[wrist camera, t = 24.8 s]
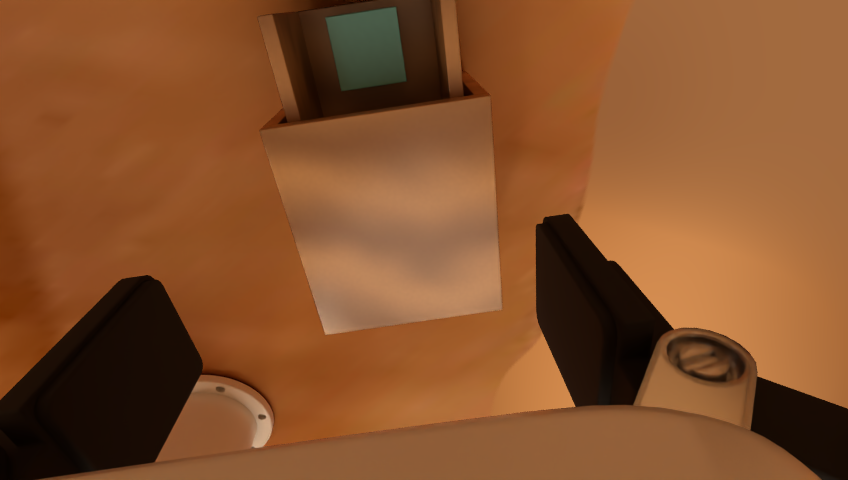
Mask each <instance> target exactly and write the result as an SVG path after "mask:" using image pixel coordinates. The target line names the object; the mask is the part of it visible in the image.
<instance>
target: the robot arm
mask: <svg viewBox="0 0 848 480" xmlns="http://www.w3.org/2000/svg"><path fill="white" fill-rule="evenodd" d="M536 312H537V319H538V323H539V325H540V328H541V330H542V332H543V335H544V337H545V339H546V341H547V344H548V346H549V348H550V350H551V352H552V355H553V357H554V359H555V361H556V364H557V366H558V368H559V370H560V373H561V375H562V377H563V379H564V382H565V384H566V386H567V388H568V390H569V392H570V395H571V397H572V400H573V402H574V404H575V406H576V407H572V408H561V409H550V410H539V411H529V412H520V413H514V414H506V415H498V416H490V417H482V418H473V419H465V420H458V421H450V422H443V423H435V424H428V425H421V426H413V427H406V428H398V429H391V430H383V431H376V432H368V433H361V434H353V435H346V436H339V437H331V438H324V439H317V440H310V441H302V442H295V443H288V444H281V445H274V446H266V447H263V446H264V445H265V444H266V442H267V441H268V439H269V438H270V435H271V432H272V429H273V424H274V416H273V412H272V410H271V407H270V406H269V404H268V403H267V401H266V400H265V399H264V398H263V397H262V396H261V395H260V394H259V393H258V392H257V391H255V390H254V389H252V388H251V387H249V386H247V385H245V384H243V383H241V382H239V381H236V380H233V379H230V378H226V377H221V376H215V375H201V373H202V369H203V363H202V359H201V357H200V355H199V353H198V351H197V349H196V347H195V345H194V343H193V342H192V340H191V338H190V336H189V334H188V332H187V330H186V328H185V326H184V324H183V323H182V321H181V319H180V317H179V315H178V313H177V311H176V309H175V307H174V305H173V304H172V302H171V300H170V298H169V296H168V294H167V292H166V290H165V288H164V286H163V285H162V283H161V282H160V281H158V280H155V279H154V278H152V277H151V276H148V275H145V276H138V277H131V278H125V279H121V280H120V281H119V282H118V283H117V284H116V285H115V286H114V287H113V288H112V289H111V290H110V291H109V292H108V293H107V294H106V295H105V296H104V297H103V298H102V299H101V300H100V301H99V302H98V303H97V304H96V305H95V306H94V307H93V308H92V309H91V310H90V311H89V312H88V313H87V314H86V315H85V316H84V317H83V318H82V319H81V320H80V321H79V322H78V323H77V324H76V325H75V326H74V327H73V328H72V329H71V330H70V331H69V332H68V333H67V334H66V335H65V336H64V337H63V338H62V339H61V340H60V341H59V342H58V343H57V344H56V345H55V346H54V347H53V348H52V349H51V350H50V351H49V352H48V353H47V354H46V355H45V356H44V357H43V358H42V359H41V360H40V361H39V362H38V363H37V364H36V365H35V366H34V367H33V368H32V369H31V370H30V371H29V372H28V373H27V374H26V375H25V376H24V377H23V378H22V379H21V380H20V381H19V382H18V383H17V384H16V385H15V386H14V387H13V388H12V389H11V390H10V391H9V392H8V393H7V394H6V395H5V396H4V397H3V398H2V399H1V400H0V480H848V409H847V408H844V407H841V406H839V405H836V404H833V403H830V402H827V401H825V400H822V399H819V398H816V397H813V396H811V395H808V394H805V393H802V392H799V391H797V390H794V389H791V388H788V387H785V386H783V385H780V384H777V383H774V382H771V381H769V380H766V379H763V378H760V377H757V366H756V362H755V361H754V359H753V357H752V356H751V354H750V353H749V352H748V351H747V350H746V349H745V348H743V347H742V346H741V345H740V344H739V343H737V342H735V341H734V340H732V339H730V338H728V337H726V336H724V335H721V334H719V333H716V332H713V331H710V330H704V329H699V328H679V329H675V330H674V329H673V328H672V327H671V325H670V324H669V323H668V322H667V321H666V320H665V319H664V317H663V316H662V315H661V314H660V312H659V311H658V310H657V309H656V308H655V307H654V305H653V304H652V303H651V302H650V301H649V300H648V299H647V297H646V296H645V295H644V294H643V293H642V292H641V290H640V289H639V288H638V287H637V286H636V285H635V283H634V282H633V281H632V280H631V279H630V277H629V276H628V275H627V274H626V273H625V272H624V270H623V269H622V268H621V267H620V266H619V265H618V264H617V263H616V262H615V261H607V259H606V258H605V257H604V256H603V255H602V253H601V252H600V251H599V250H598V248H597V247H596V246H595V245H594V244H593V243H592V241H591V240H590V239H589V238H588V236H587V235H586V234H585V233H584V231H583V230H582V229H581V228H580V227H579V225H578V224H577V223H576V222H575V221H574V219H573V218H572V217H571V216H570V215H569V214H563V215H556V216H549V217H545V218H544V220H543V223H542V224H537V225H536Z"/></svg>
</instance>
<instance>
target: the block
mask: <svg viewBox="0 0 848 480" xmlns="http://www.w3.org/2000/svg"><path fill="white" fill-rule="evenodd" d="M325 19H326V24H327V29H328V33H329V38H330V42H331V47H332V51H333V56H334V61H335V65H336V70H337V74H338V79H339V83H340V88H341V91H348V90H355V89H361V88H368V87H374V86H381V85H388V84H394V83H401V82H407V78H406V71H405V64H404V57H403V51H402V44H401V37H400V30H399V23H398V16H397V9H396V6H393V7H387V8H380V9H374V10H367V11H360V12H354V13H347V14H341V15H334V16H329V17H325Z"/></svg>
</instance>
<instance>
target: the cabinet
mask: <svg viewBox="0 0 848 480" xmlns="http://www.w3.org/2000/svg"><path fill="white" fill-rule="evenodd" d="M462 79H463V91H464V97H457V98H450V99H444V100H437V101H430V102H424V103H417V104H410V105H404V106H397V107H390V108H384V109H377V110H370V111H364V112H357V113H350V114H344V115H337V116H330V117H324V118H317V119H310V120H304V121H297V122H291V123H287V119H286V116H285V112H284V109H282V110H280V111H279V112H278V113H277V114H276V115H275V116H274V117H273V118H272V119H271V120H270V121H269V122H268V123H266V124H265V125H264V126H263V127H262V128H261V129H260V130H259V132H260V135H261V138H262V141H263V144H264V147H265V150H266V153H267V156H268V159H269V163H270V166H271V169H272V172H273V175H274V178H275V181H276V184H277V187H278V190H279V193H280V197H281V200H282V203H283V206H284V209H285V212H286V215H287V218H288V221H289V224H290V228H291V231H292V234H293V237H294V240H295V243H296V246H297V249H298V252H299V255H300V258H301V262H302V265H303V268H304V271H305V274H306V277H307V280H308V283H309V286H310V289H311V293H312V296H313V299H314V302H315V305H316V308H317V311H318V314H319V317H320V320H321V323H322V327H323V330H324V333H325V335H330V334H337V333H344V332H351V331H358V330H365V329H372V328H379V327H386V326H393V325H400V324H407V323H414V322H421V321H428V320H435V319H442V318H449V317H456V316H462V315H469V314H476V313H483V312H490V311H497V310H502V309H503V305H502V287H501V269H500V251H499V233H498V215H497V197H496V179H495V161H494V143H493V126H492V108H491V96H490V95H489V94H488V93H487V92H486V91H485V90H484V89H483V88H482V87H481V86H480V85H479V84H478V83H477V82H476V81H475V80H474V79H473V78H472V77H471V76H470V75H469V74H468V73H467V72H466V71H462Z"/></svg>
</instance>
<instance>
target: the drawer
mask: <svg viewBox="0 0 848 480" xmlns="http://www.w3.org/2000/svg"><path fill="white" fill-rule="evenodd" d="M393 6H396V9H397V16H398V23H399V30H400V37H401V44H402V51H403V57H404V64H405V71H406V78H407V82H401V83H394V84H388V85H381V86H374V87H368V88H361V89H355V90H348V91H341V88H340V83H339V79H338V74H337V70H336V65H335V61H334V56H333V51H332V47H331V42H330V38H329V33H328V29H327V24H326V19H325V17H329V16H334V15H341V14H347V13H354V12H360V11H367V10H374V9H380V8H387V7H393ZM257 18H258V22H259V25H260V29H261V32H262V36H263V39H264V43H265V46H266V50H267V53H268V57H269V60H270V64H271V67H272V70H273V74H274V77H275V81H276V84H277V88H278V91H279V95H280V98H281V102H282V105H283V109H284V112H285V116H286V119H287V123H291V122H297V121H304V120H310V119H317V118H324V117H330V116H337V115H344V114H350V113H357V112H364V111H370V110H377V109H384V108H390V107H397V106H404V105H410V104H417V103H424V102H430V101H437V100H444V99H450V98H457V97H464V91H463V79H462V67H461V56H460V44H459V32H458V21H457V9H456V0H370V1H364V2H357V3H351V4H344V5H338V6H331V7H325V8H318V9H312V10H305V11H299V12H288V13H276V14H267V15H261V16H257Z"/></svg>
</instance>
